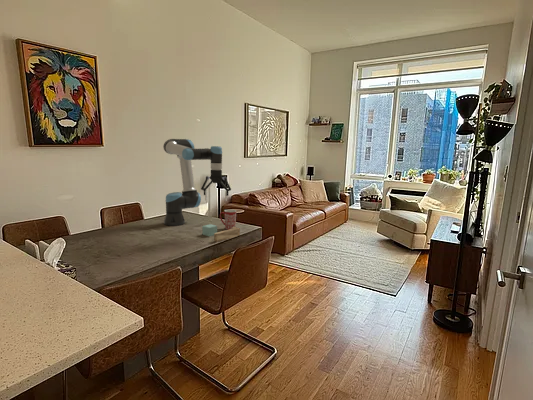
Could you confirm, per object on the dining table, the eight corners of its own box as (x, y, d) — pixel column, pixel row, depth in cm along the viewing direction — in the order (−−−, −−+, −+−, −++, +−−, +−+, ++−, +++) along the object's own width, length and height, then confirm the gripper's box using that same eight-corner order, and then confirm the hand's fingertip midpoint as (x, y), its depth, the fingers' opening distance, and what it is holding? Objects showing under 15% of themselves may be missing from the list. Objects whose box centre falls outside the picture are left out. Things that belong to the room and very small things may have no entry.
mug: (238, 227, 233) (238, 209, 231) (233, 230, 225) (233, 212, 222) (222, 226, 237) (222, 208, 235) (217, 229, 228) (217, 210, 226)
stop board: (212, 240, 202) (212, 232, 201) (234, 234, 217) (234, 226, 216) (217, 242, 199) (217, 234, 198) (239, 235, 214) (239, 228, 213)
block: (202, 234, 215) (202, 226, 214) (210, 232, 220) (210, 224, 219) (209, 236, 210) (209, 227, 209) (217, 234, 216) (217, 225, 215)
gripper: (196, 169, 210) (196, 200, 214) (234, 170, 210) (233, 201, 214) (198, 168, 218) (199, 198, 222) (235, 169, 218) (234, 199, 222)
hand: (216, 200), depth 218 cm, fingers open, 13 cm apart
